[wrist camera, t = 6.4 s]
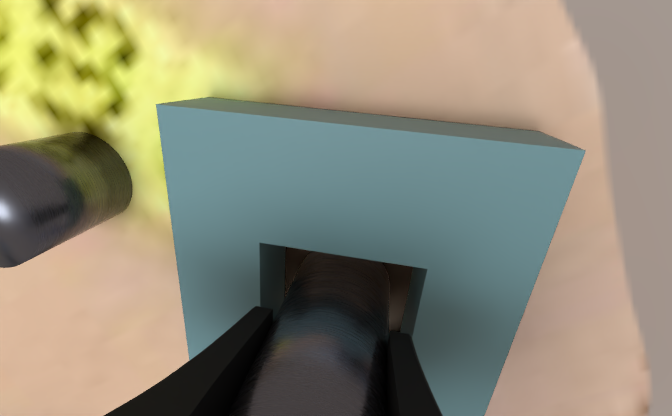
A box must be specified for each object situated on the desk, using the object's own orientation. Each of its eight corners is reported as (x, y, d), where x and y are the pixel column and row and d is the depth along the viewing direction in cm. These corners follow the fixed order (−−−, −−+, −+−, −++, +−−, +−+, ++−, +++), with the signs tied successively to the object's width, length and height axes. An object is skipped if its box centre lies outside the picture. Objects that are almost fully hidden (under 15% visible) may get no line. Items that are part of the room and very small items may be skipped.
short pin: (139, 221, 16) (47, 275, 11) (64, 211, 16) (-50, 258, 12) (123, 136, 14) (10, 162, 10) (41, 128, 14) (-100, 149, 10)
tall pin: (377, 329, 15) (354, 640, 7) (292, 306, 15) (174, 576, 7) (401, 256, 13) (409, 547, 5) (306, 231, 14) (172, 470, 5)
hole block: (450, 410, 17) (460, 476, 14) (226, 363, 18) (196, 415, 15) (539, 131, 11) (585, 150, 8) (208, 97, 13) (156, 104, 10)
